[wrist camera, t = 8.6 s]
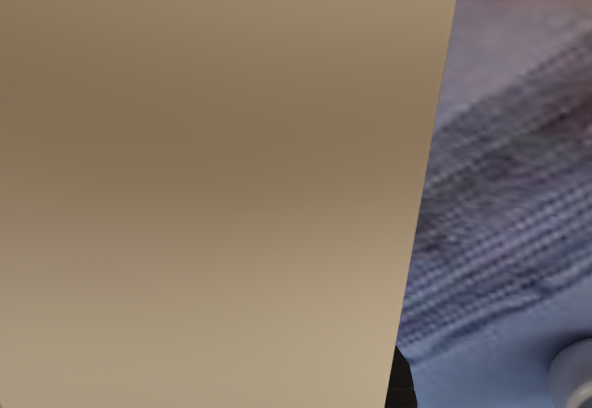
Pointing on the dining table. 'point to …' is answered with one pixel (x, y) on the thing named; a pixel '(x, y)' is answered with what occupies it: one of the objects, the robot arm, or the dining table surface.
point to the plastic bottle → (572, 376)
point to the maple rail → (210, 198)
